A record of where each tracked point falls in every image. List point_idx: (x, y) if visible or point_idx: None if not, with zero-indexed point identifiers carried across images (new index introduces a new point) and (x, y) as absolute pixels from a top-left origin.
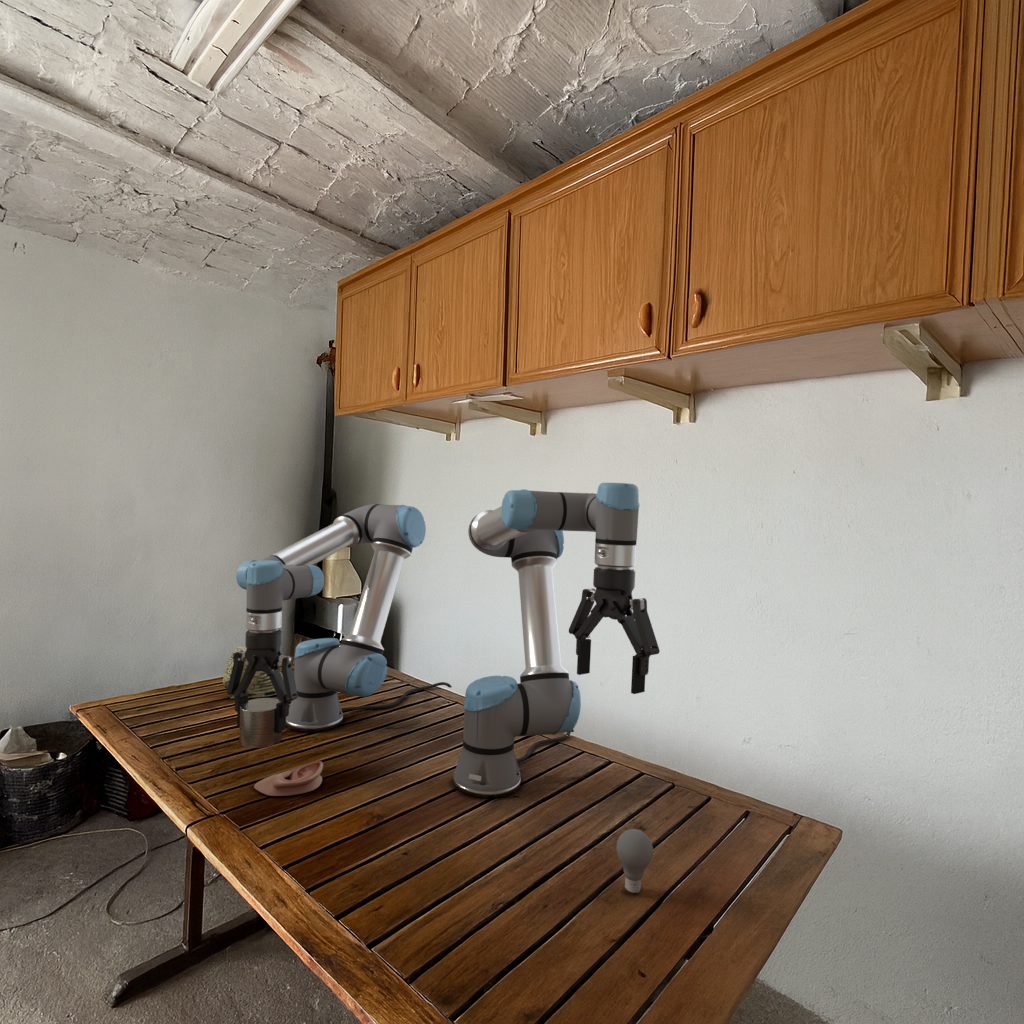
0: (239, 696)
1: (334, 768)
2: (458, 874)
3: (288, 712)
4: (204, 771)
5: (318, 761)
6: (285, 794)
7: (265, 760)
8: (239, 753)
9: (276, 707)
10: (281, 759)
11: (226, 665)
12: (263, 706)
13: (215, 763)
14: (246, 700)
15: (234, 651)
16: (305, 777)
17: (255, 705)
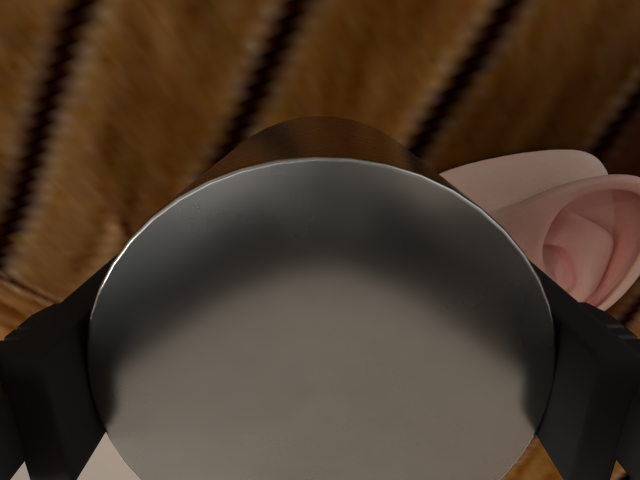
0: (5, 477)
1: (619, 35)
2: None
3: (614, 326)
4: (102, 244)
5: (633, 185)
6: None
7: (258, 61)
8: (84, 25)
9: (550, 451)
10: (323, 22)
11: None
12: (378, 432)
13: (78, 166)
14: (76, 357)
15: None
16: (593, 287)
17: (279, 435)
